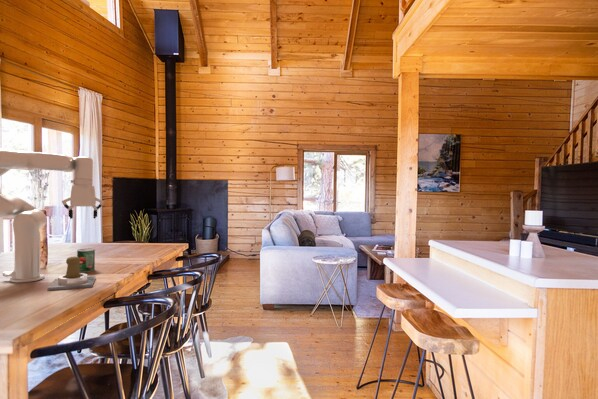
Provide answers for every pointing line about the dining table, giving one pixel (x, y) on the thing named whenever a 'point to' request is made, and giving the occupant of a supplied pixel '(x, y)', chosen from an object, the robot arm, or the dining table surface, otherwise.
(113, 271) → the dining table surface
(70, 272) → the olive tapered shaker
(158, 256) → the dining table surface
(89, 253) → the canned tomato
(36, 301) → the dining table surface
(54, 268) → the dining table surface
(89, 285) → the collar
